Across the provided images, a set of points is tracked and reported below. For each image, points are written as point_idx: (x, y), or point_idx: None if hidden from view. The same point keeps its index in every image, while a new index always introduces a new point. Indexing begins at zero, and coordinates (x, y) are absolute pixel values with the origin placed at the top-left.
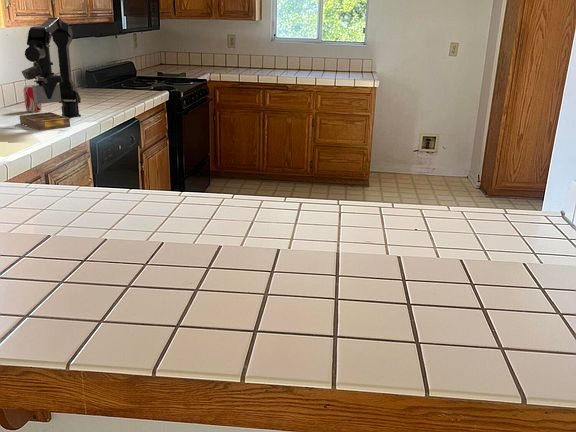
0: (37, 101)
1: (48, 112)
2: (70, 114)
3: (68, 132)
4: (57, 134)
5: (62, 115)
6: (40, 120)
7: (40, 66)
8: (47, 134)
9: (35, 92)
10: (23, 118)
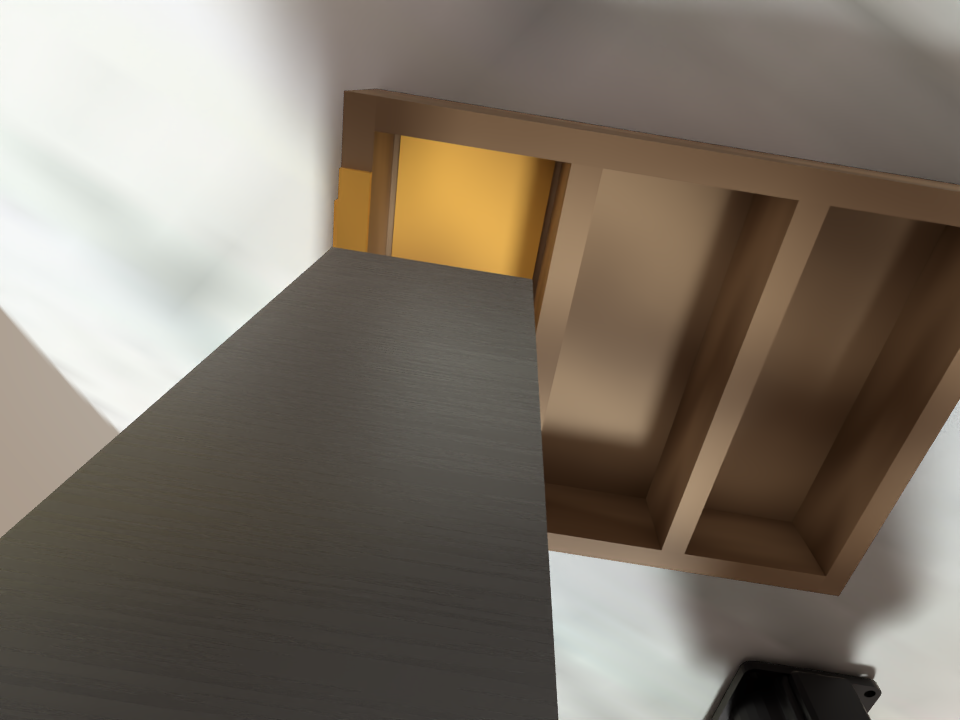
0: (308, 273)
1: (845, 574)
2: (756, 706)
3: (65, 273)
4: (10, 119)
5: (858, 678)
6: (547, 265)
7: None
8: (68, 24)
9: (233, 416)
10: (895, 180)
